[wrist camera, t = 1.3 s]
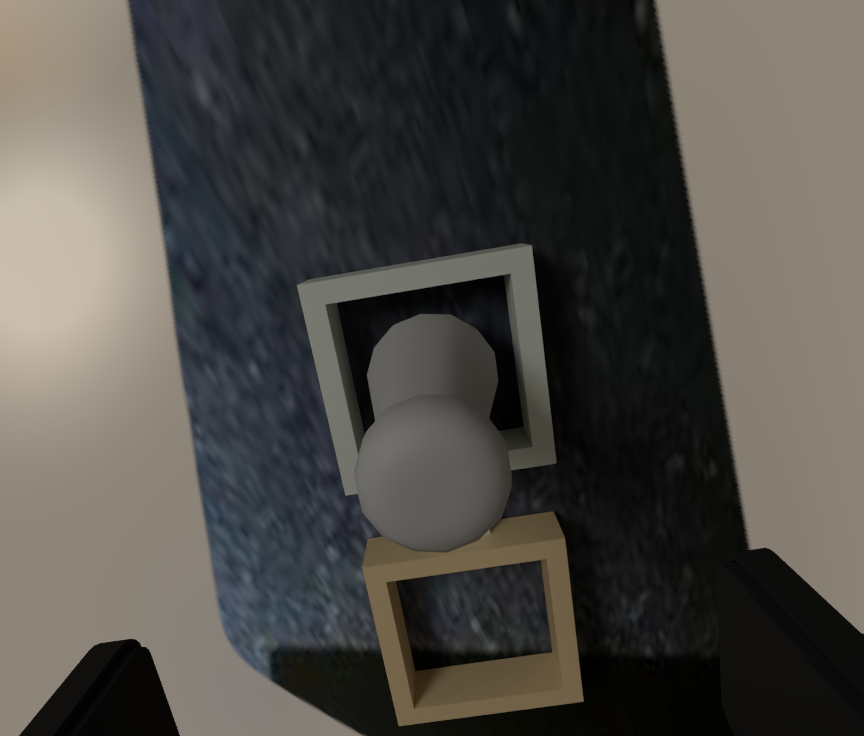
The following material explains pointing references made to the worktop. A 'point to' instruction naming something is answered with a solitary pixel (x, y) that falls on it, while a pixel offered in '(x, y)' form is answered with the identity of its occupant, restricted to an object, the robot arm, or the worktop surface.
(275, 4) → the worktop surface
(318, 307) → the sockets
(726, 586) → the robot arm
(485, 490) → the salt shaker
